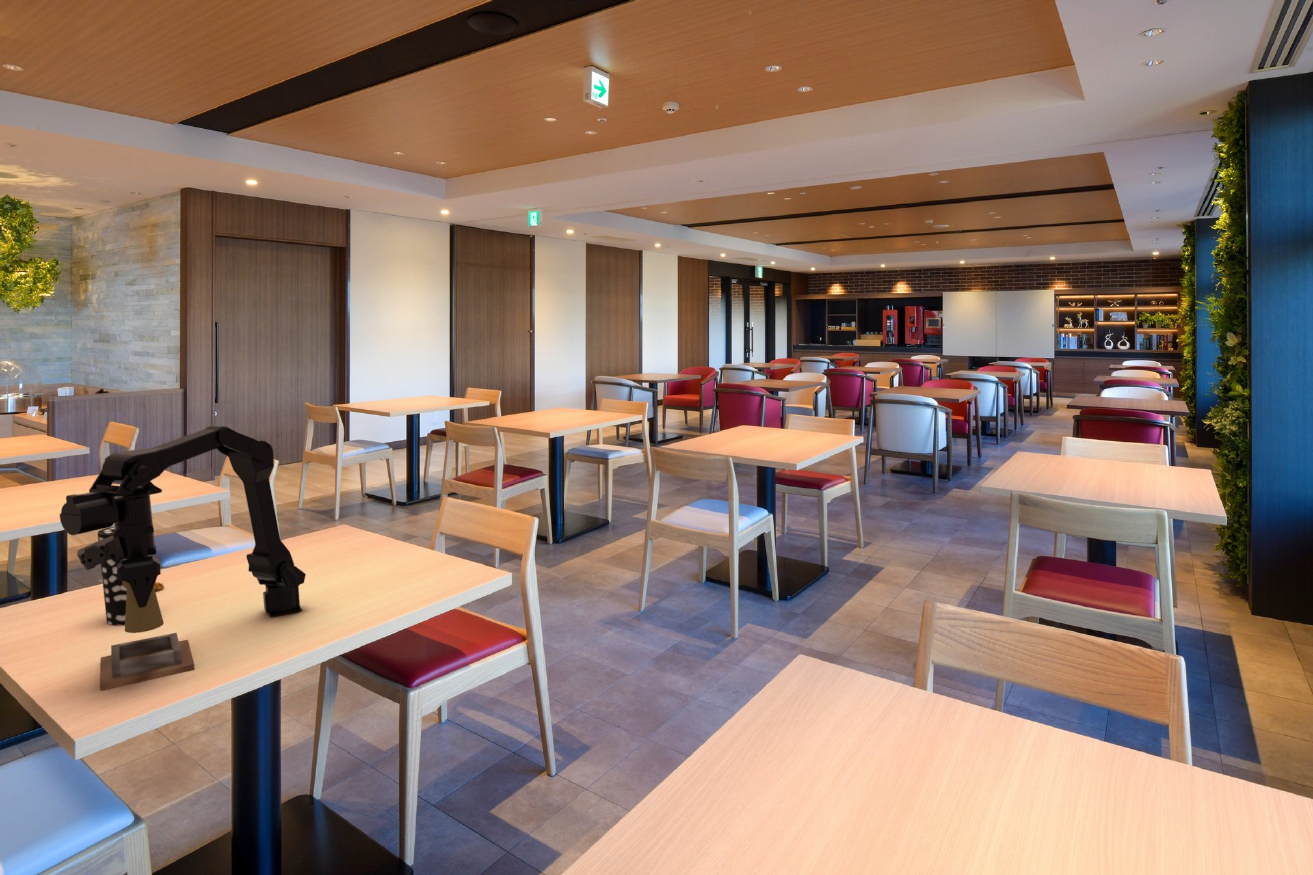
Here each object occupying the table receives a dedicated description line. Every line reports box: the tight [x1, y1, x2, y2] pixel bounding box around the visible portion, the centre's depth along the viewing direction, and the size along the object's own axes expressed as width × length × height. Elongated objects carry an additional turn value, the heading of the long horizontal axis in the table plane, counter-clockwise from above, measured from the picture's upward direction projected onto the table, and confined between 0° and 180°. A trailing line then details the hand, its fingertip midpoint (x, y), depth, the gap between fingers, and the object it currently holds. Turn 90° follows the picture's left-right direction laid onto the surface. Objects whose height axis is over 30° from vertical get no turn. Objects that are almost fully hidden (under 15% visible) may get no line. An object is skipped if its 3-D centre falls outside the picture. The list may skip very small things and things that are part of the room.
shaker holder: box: [99, 632, 196, 691], centre depth 138 cm, size 14×14×4 cm
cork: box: [122, 581, 165, 634], centre depth 137 cm, size 6×6×11 cm
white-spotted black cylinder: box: [97, 526, 127, 626], centre depth 161 cm, size 8×8×20 cm
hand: (141, 603), depth 137 cm, fingers closed on cork, 4 cm apart
